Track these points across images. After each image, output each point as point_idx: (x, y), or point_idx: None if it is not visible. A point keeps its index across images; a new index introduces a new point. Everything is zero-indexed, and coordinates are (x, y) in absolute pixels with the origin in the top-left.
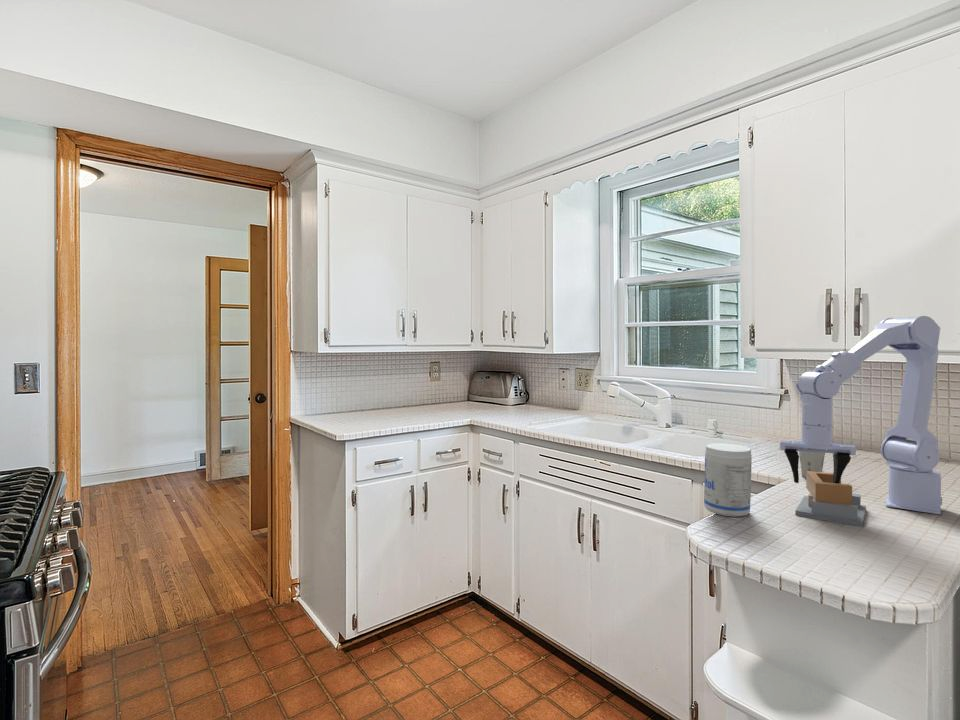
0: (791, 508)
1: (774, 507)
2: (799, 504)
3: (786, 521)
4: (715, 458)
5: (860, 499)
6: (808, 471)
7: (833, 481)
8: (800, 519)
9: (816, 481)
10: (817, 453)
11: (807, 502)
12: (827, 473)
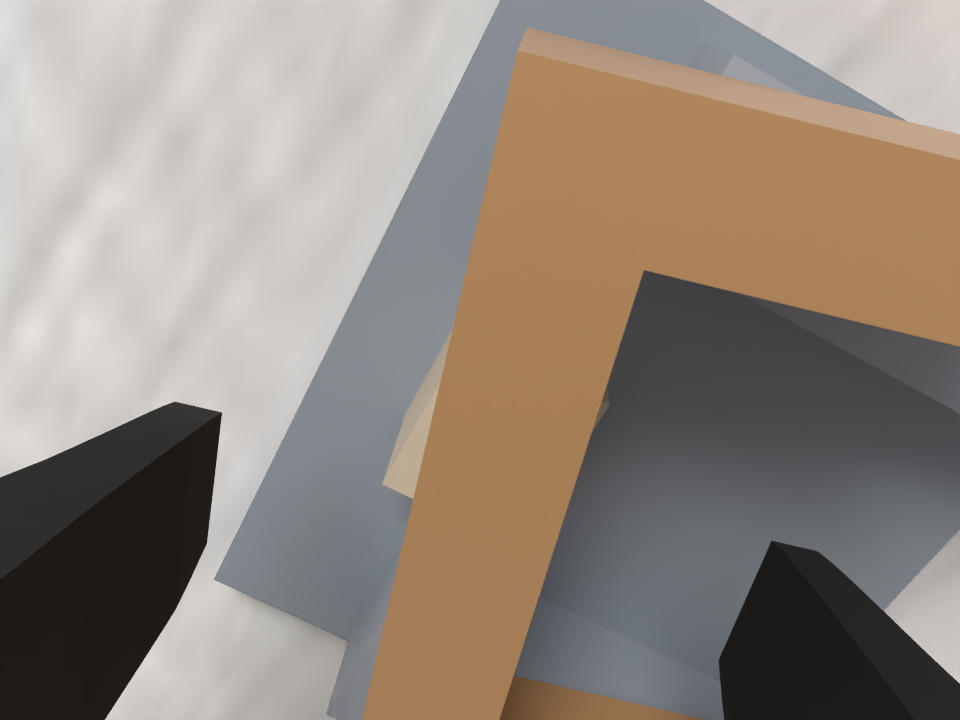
0: (252, 340)
1: (74, 333)
2: (322, 367)
3: (112, 709)
4: None
5: None
6: (542, 113)
7: (773, 604)
8: (242, 653)
9: None
10: None
11: (454, 264)
12: (935, 257)
